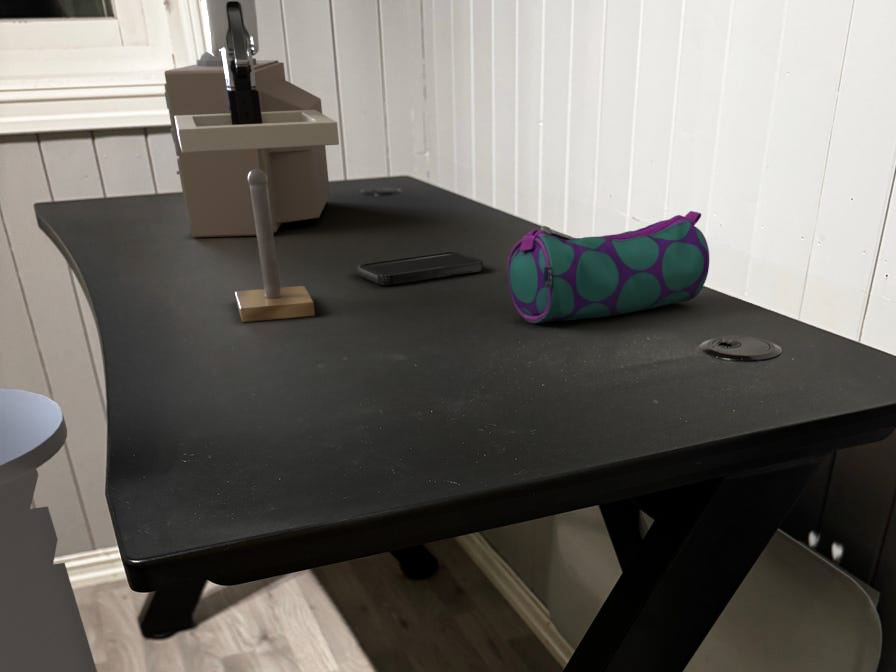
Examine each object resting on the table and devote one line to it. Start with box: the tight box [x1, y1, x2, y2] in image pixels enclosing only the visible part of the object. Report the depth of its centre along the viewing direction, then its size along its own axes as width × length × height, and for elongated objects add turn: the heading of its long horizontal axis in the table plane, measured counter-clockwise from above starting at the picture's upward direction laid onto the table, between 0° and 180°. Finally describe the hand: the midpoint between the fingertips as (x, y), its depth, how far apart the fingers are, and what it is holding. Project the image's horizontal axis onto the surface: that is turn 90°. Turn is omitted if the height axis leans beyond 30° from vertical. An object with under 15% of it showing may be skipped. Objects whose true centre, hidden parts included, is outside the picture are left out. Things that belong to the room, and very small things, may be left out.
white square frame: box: [175, 110, 340, 153], centre depth 97 cm, size 15×15×2 cm
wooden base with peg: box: [234, 169, 316, 323], centre depth 103 cm, size 8×8×14 cm
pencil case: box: [506, 210, 710, 324], centre depth 101 cm, size 21×9×10 cm, turn 115°
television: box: [163, 49, 331, 238], centre depth 147 cm, size 36×20×40 cm, turn 3°
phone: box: [357, 251, 484, 286], centre depth 120 cm, size 8×1×15 cm
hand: (247, 131), depth 102 cm, fingers closed on white square frame, 1 cm apart
